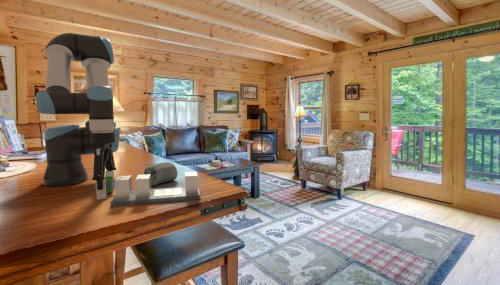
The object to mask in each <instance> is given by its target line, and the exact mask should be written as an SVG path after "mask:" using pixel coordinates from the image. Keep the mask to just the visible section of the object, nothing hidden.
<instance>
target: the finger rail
mask: <svg viewBox="0 0 500 285" xmlns="http://www.w3.org/2000/svg"><path fill="white" fill-rule="evenodd" d="M197 172H198V171H186V172H184V184H185V186H178V187H177V186H176V187H162V188H152V186H151V174H146V175H144V174H138V175H137V176H136V178H135V180H134V181H135V189H133V176H132V175H131V174H129V175H118V176H117V177H116V178H115V188H114V192H115V195H114V196H113V198H112V199H111V201H110V207H111V208H112V207H115V208H116V207H124V206H135V205H136V206H137V205H147V204H148V205H151V204H159V203H173V202H174V203H175V202H184V201H194V200H195V201H197V200H201V193H200V189H199V180H198V178H199V176H198V173H197Z"/></svg>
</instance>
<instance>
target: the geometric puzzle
mask: <svg viewBox="0 0 500 285" xmlns="http://www.w3.org/2000/svg"><path fill="white" fill-rule="evenodd" d="M104 179H105V182H106V197H107V195H109V193H113V192H114V189H115V180H116V178H115V177H114V178H113V177H111V176H107V175H106V174H105V175H104ZM94 191H96V181H95V184H94Z"/></svg>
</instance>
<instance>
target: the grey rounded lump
mask: <svg viewBox="0 0 500 285" xmlns="http://www.w3.org/2000/svg"><path fill="white" fill-rule="evenodd" d="M146 174H151V187H153V186H156V185H160V184H164V183H168V182H172V181H175V180H177V178H178V169H177V167H176V166H175V164H173V162H169V161H168V162H159V163H155V164H151V165H149V166H147V167H146V168H144V172H143V175H146Z"/></svg>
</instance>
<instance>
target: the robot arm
mask: <svg viewBox="0 0 500 285" xmlns="http://www.w3.org/2000/svg"><path fill="white" fill-rule="evenodd" d="M44 51H45V52H44V53H45V57H46V59H47V65H46V66H47V67H46V76H45V77H46V78H45V88H44V89H45V90H43V91H38V92H37V93H36V94H35V103H36V105H35V106H36V109H37V112H39V113H40V114H43V115H54V116H55V115H88V120H87V121H86V122H85V123H84V125H85V126H84V127H83V126H80V124H79V123H73V124H64V125H57V126H56V125H55V126H50V127H47V128H46V129H45V130H44V139H43V141H44V144H45V152H46V154H45V155H46V168H45V171H44V175H43V178H42V184H43V186H46V187H62V186H70V185H76V184H80V183H83V182H85V181H87V180H88V178H89V177H88V176H89V175H88V171H87V169H86V167H85V165H84V163H83V161H82V156H83V155H85V156H87V155H93V171H92V172H93V175H92V181H95V182H96V190H95V192H96V200H104V199H105V200H106V199H107V196H106V194H107V193H106V182H105V179H104V177H105V175H107V176H111V177H113V178H114V179H115V171H116V170H117V167H116V165H115V156H114V153H116V152H118V151H119V148H120V147H119V146H120V145H119V144H120V137H121V136H120V135H121V131H120V130H121V129H120V128H121V127H120V126H119V125H117V122H116V121H115V116H114V114H115V113H114V95H113V89H112V87H110V84H109V74H108V73H109V72H108V70H110V69H111V67H112V66H111V65H114V63H115V59H114V58H115V56H114V51H113V47H112V43H111V41H110V39H108V38H107V37H104V36H101V35H100V36H99V35H97V36H95V35H89V34H80V33H73V32H64V33H61V34H58V35H56V36H54V37H53V38H51V39H50V40H49V42H47V44H46V46H45V50H44ZM73 62H80V63H81V66H82V67H83V68H84V69H85V79H86V92H72V63H73Z"/></svg>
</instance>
